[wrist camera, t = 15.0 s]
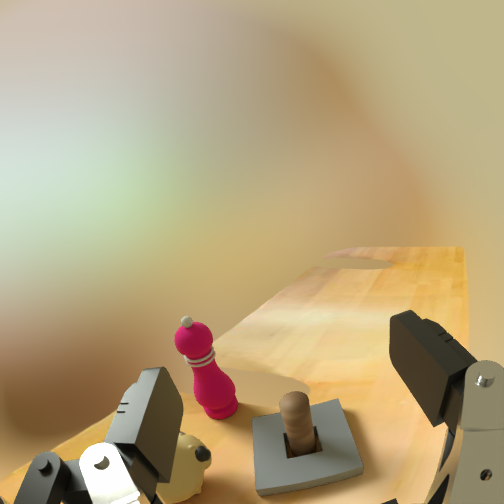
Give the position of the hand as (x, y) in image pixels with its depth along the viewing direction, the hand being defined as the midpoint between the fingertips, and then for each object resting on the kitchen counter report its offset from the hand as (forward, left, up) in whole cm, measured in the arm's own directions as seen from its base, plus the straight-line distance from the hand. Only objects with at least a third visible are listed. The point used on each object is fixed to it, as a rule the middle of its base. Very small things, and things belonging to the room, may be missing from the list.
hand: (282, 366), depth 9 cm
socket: (0, +17, -32) cm, 36 cm away
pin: (0, +17, -32) cm, 36 cm away
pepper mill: (-13, +30, -32) cm, 46 cm away
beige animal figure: (-18, +13, -32) cm, 39 cm away
